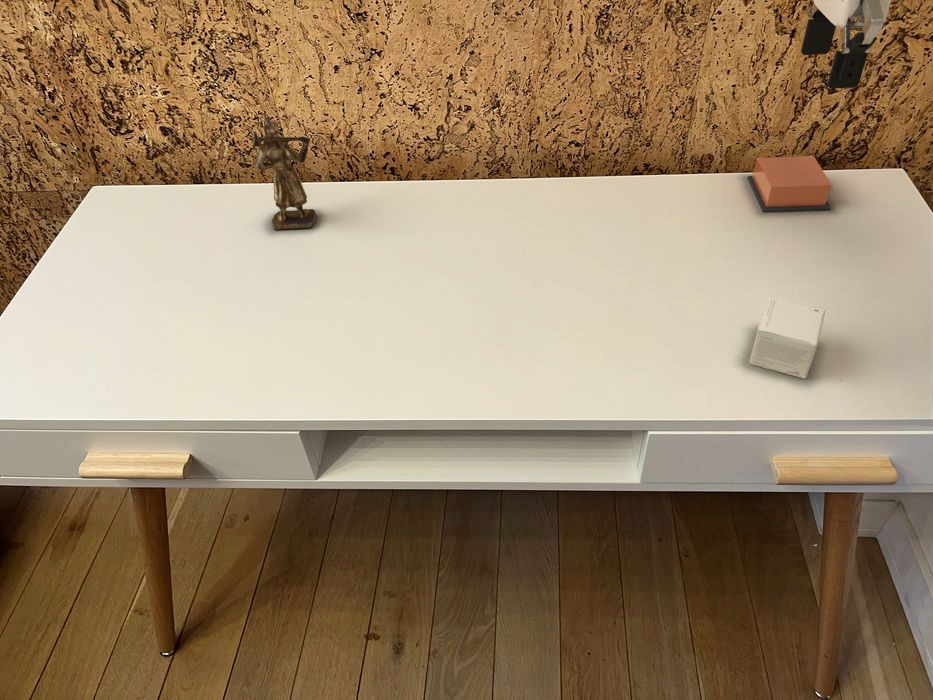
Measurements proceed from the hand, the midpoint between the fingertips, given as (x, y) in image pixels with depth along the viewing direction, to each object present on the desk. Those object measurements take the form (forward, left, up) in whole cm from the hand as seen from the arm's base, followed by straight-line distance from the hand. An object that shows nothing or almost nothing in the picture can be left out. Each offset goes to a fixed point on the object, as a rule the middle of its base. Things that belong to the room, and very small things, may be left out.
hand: (827, 69), depth 85 cm
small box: (-19, +25, -17) cm, 36 cm away
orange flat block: (+1, 0, -17) cm, 17 cm away
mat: (+1, 0, -17) cm, 17 cm away
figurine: (+36, +55, -17) cm, 68 cm away
